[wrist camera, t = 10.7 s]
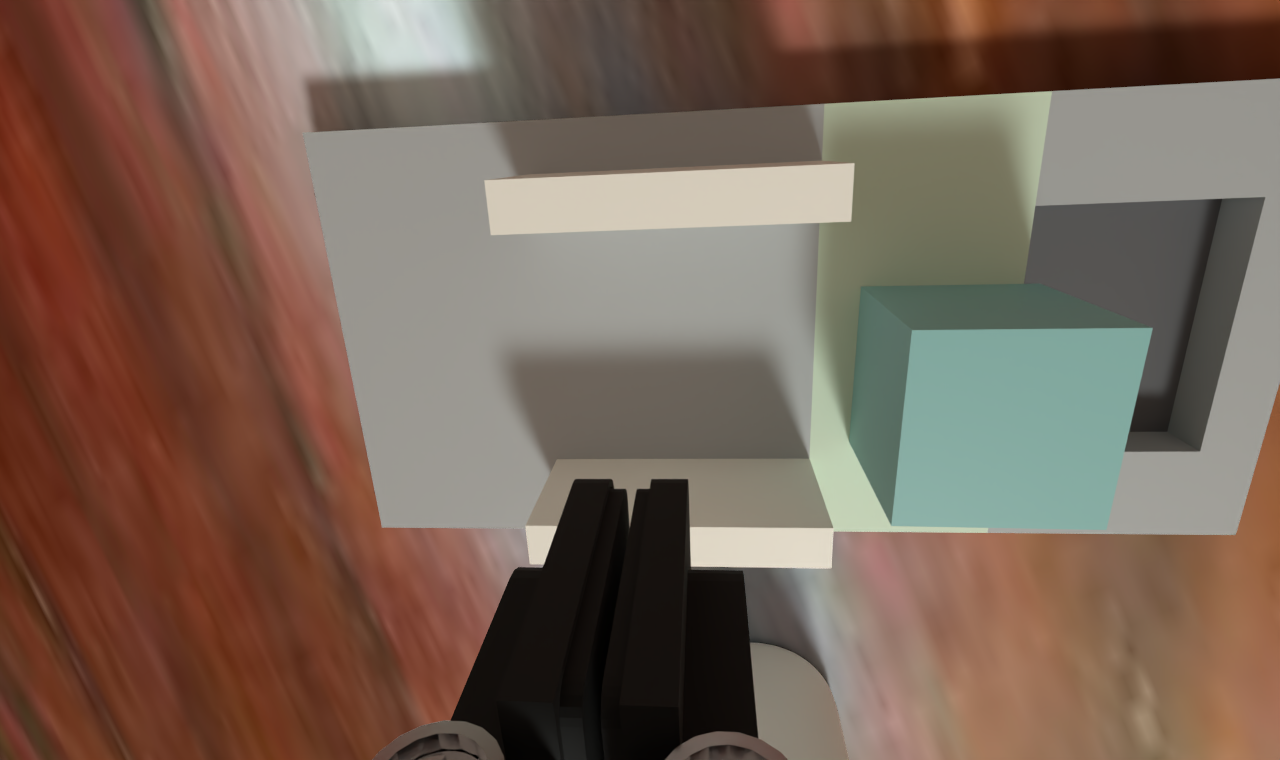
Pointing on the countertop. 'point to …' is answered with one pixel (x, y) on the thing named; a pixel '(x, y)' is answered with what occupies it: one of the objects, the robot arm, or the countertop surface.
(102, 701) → the countertop surface
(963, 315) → the teal block
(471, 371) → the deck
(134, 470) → the countertop surface
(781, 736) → the pill bottle
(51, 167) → the countertop surface
